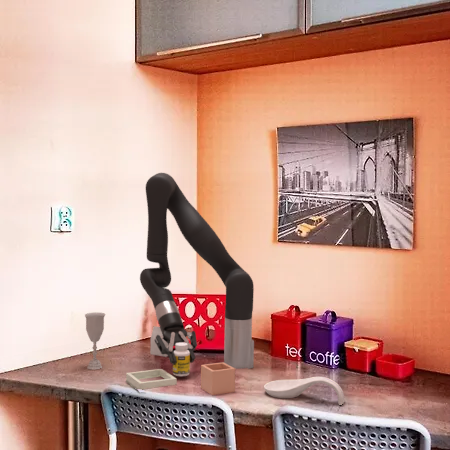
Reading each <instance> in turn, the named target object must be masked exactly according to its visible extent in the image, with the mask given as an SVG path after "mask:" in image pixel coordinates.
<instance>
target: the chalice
mask: <svg viewBox="0 0 450 450" xmlns="http://www.w3.org/2000/svg"><path fill="white" fill-rule="evenodd" d="M105 316H106V314H105V313H104V312H88V313H84V317H85V331H86V333H87V335H88V338H89V341H90V342H92V343H93V346H92V349H93V351H92V355H93V358H92V359H91V360H90V361H89V362H88V363H87V364H88V365H87V367H86V368H87V369H88V370H101V369H102V368H103V366H102V363H101V361H100V360H99V359H98V358H97V355H98V352H97V349H98V347H97V343H98V342H99V341H100V339H101V337H102V335H103V332H104V328H105V327H104V326H105V325H104V324H105ZM100 368H101V369H100Z"/></svg>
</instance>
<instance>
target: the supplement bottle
mask: <svg viewBox="0 0 450 450" xmlns="http://www.w3.org/2000/svg"><path fill="white" fill-rule="evenodd" d="M174 347H175V350H173V352H174V354H175V357H176V360H177V363H176V364H175V365H173V364H172V374H173V376H175V377H186V376H187V377H188V376H189V375H190V372H191V363H190V352H189V351H188V350H187V349H188V344H187V343H183V342H180V343H176V344H175V346H174Z"/></svg>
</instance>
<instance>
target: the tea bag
mask: <svg viewBox="0 0 450 450" xmlns="http://www.w3.org/2000/svg"><path fill="white" fill-rule="evenodd" d="M157 335H160V336H161V335H162V332H161V329H160V326H156V325H155V326H153V327H152V331H151V335H150V352H149V353H150V355H153V356H160V357H164V358H165V357H168V355H167V354H161V352H160V350H159V348H158V346H157V344H156V343H155V338H156V336H157ZM163 342H164V344H165V346H166V348H167V346H168V343H167V342H166V341H165V340H163Z"/></svg>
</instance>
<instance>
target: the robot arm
mask: <svg viewBox="0 0 450 450" xmlns="http://www.w3.org/2000/svg"><path fill="white" fill-rule="evenodd" d="M145 196H146V204H147V216H148V217H147V221H148V222H147V238H146V240H147V241H146V260H147V261H149V262H151V263H156V264H158V266H159V267H148V268H144V269H143V270H142V271H141V272H140V275H139V281H140V284H141V287H142V289H143V290H144V291H145V292H146V295H148V297H149V298H150V300H151V302H152V305H153V308H154V311H155V317H156V320H157V323H158V327H160V329H161V332H162V335H161V336H160V335H157V336H156V338H155V343H156V344H157V346H158V348H159V350H160V352H161V354H167V355H168V356H167V357H168V360H169V362H170V364H172V366H173V365H175V364H176V363H177V360H176V357H175V354H174V350H173V349H174V347H175V344H176V343H180V342H183V343H187V344H188V349H187V350H188V351H189V352H190V364H191V363H194V361H195V359H196V356H195V353H194V351H196V348H197V347H198V342H197V334H196V331H195V330H191V332H190V331H189V332H188V331H187V330H186V329H185V326H184V323H183V320H182V317H181V314H180V311H179V308H178V307H177V304H176V302H175V299H174V296H173V293H172V291H171V290H170V289H168V287H169V286H170V285H171V282H172V274H171V270H170V265H169V260H168V259H169V258H168V247H169V234H168V233H169V231H168V222H167V214H168V211H169V213H170V214H171V216H172V217H173V218H174V221H175V223H176V225H177V227H178V229H179V231H180V233H181V234H182V236H183V238H184V239H185V241H187V244H189V245H190V246H191V248H192V250H194V251H195V252H196V253H197V254H198V255H199V257H200V258H201V259H203V261H205V263H207V264H208V265H209V266H210V267H212V269H213V270H214V271H215V273H216V274H217V276H218V278H220V280H221V281H222V283H223V285H224V286H225V308H224V309H225V310H224V345H223V346H224V347H223V351H224V353H223V355H224V356H223V362H224V363H226V364H227V365H229V366H231V367H233V368H235V370H237V369H248V370H251V369H254V359H255V358H254V356H255V354H254V352H255V350H254V349H255V341H254V339H252V336H253V333H252V332H253V331H252V330H253V327H252V326H253V312H254V311H253V309H254V291H255V290H254V289H255V288H254V281H253V279H252V276H250V274H249V273H248V272H247V271H246V270H244V269H243V268H242V266H240V265H239V264H238V263H237V262H236V260H234V258H233V257H232V255H230V253H229V252H228V251H227V248H226V247H225V245H224V244H223V242H222V241H221V238H219V236H218V234H217V233H216V232H215V230H214V229H213V228H212V226H211V225H210V224H209V223H208V221H206V219H204V217H203V216H202V215H201V214H200V212H199V211H198V210H197V209H196V208H195V207H194V206H193V205H192V203H190V201H189V200H188V199H187V198H186V196H185V194H184V193H183V191H182V190H181V188H180V187H179V185H178V183H177V182H176V180H175V179H174V178H173V177H172V176H171V175H170V174H169V173H167V172H158V173H156V174H154V175H152V176H151V177H149V179H148V180H147V181H146V184H145ZM187 337H188V338H187ZM163 340H165V341H166V342H167V343H168V346H167V348H166V346H165V344H164V342H163Z"/></svg>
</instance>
